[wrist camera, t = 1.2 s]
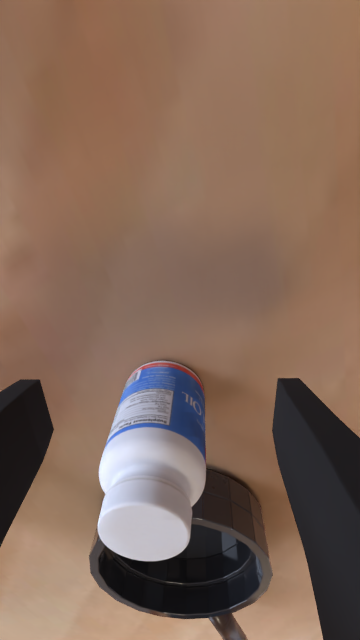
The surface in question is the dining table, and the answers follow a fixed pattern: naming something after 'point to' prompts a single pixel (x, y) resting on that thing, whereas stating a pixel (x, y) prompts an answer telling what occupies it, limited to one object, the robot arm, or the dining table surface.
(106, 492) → the pill bottle
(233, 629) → the handle
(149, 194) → the dining table surface
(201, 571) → the black shallow round container
